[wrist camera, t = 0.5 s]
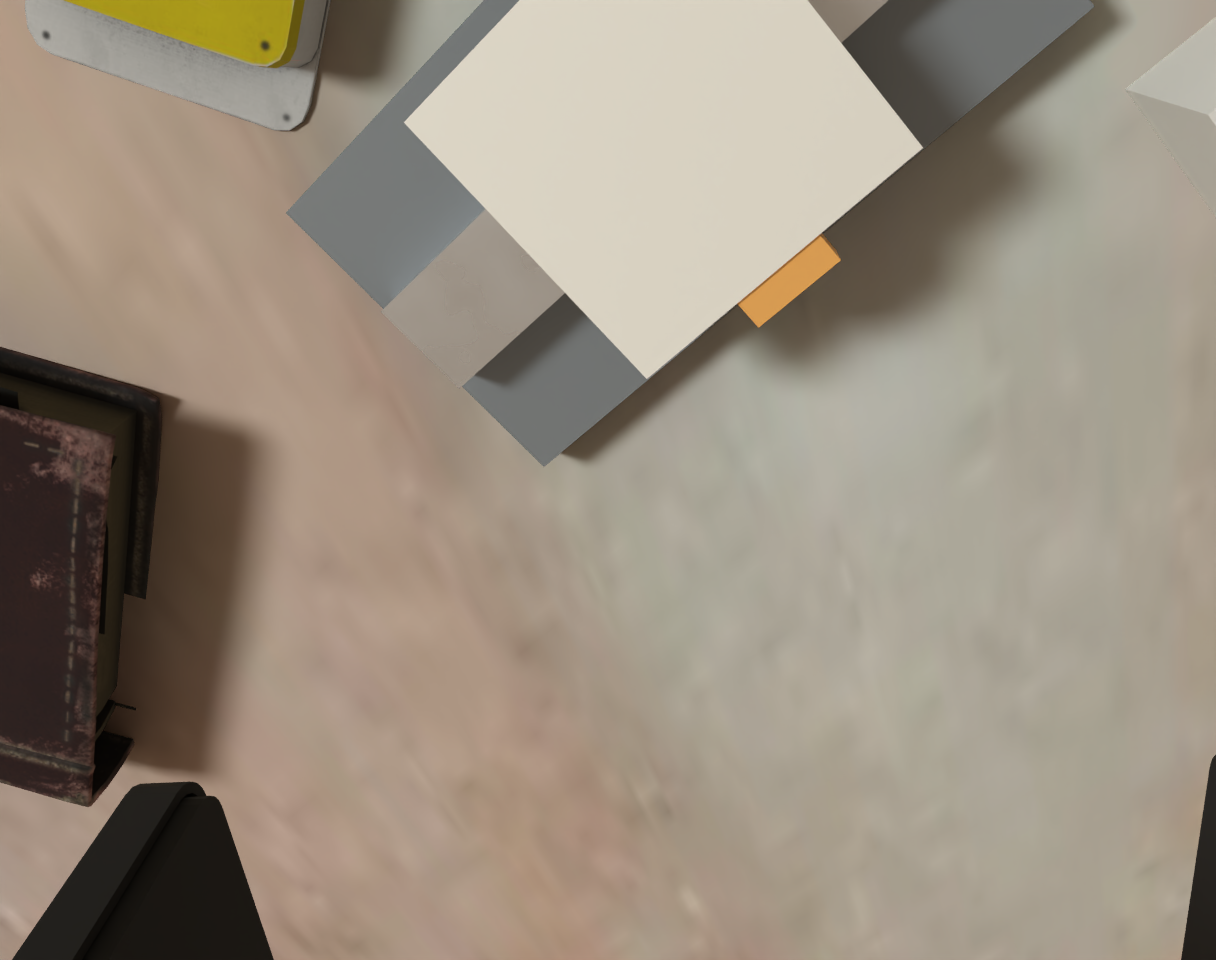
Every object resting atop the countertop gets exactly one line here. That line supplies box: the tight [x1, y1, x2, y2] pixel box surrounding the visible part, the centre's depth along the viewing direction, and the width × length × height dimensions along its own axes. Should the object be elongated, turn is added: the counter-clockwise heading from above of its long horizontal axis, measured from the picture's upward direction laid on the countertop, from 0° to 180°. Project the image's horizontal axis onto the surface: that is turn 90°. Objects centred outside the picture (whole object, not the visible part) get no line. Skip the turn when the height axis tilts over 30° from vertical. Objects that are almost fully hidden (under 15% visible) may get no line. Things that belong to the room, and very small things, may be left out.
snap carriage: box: [404, 0, 923, 379], centre depth 31 cm, size 10×11×2 cm
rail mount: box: [286, 0, 1094, 466], centre depth 33 cm, size 22×12×3 cm, turn 133°
